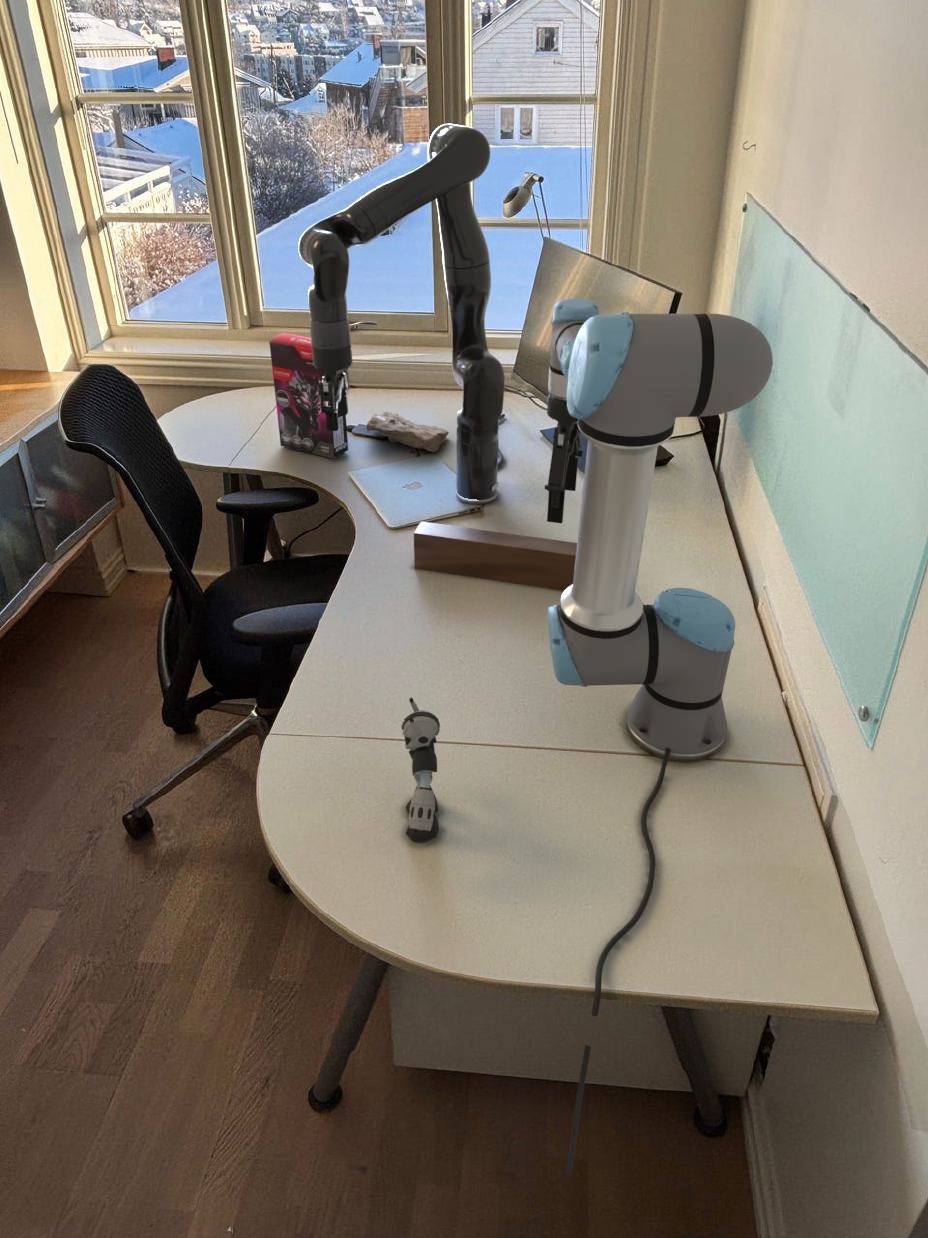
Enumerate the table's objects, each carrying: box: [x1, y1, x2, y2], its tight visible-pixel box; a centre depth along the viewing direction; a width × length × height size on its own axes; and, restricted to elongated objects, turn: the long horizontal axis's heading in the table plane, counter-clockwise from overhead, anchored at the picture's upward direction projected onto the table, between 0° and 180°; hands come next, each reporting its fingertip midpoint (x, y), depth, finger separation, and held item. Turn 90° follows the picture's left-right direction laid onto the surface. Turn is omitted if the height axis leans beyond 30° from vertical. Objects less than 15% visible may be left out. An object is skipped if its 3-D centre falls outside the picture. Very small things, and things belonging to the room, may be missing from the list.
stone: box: [365, 411, 449, 453], centre depth 234 cm, size 21×15×6 cm
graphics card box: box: [268, 332, 349, 459], centre depth 224 cm, size 17×7×27 cm, turn 62°
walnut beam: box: [413, 521, 577, 592], centre depth 180 cm, size 5×32×8 cm, turn 75°
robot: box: [400, 697, 441, 843], centre depth 121 cm, size 20×5×20 cm, turn 3°
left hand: (338, 421), depth 184 cm, fingers open, 8 cm apart
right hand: (561, 505), depth 170 cm, fingers open, 13 cm apart
